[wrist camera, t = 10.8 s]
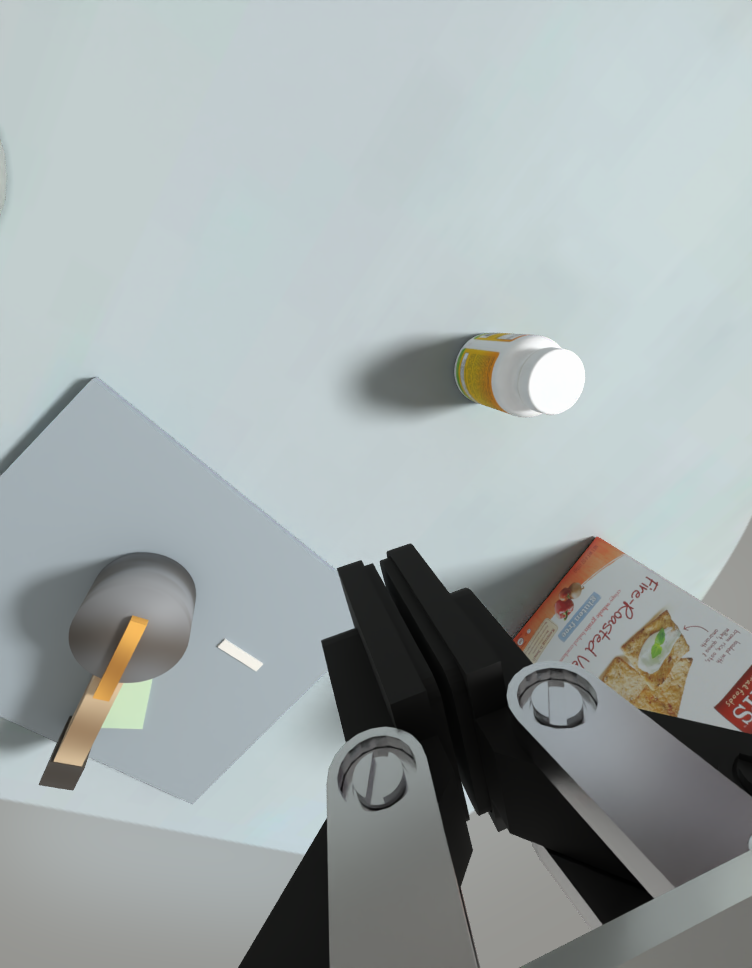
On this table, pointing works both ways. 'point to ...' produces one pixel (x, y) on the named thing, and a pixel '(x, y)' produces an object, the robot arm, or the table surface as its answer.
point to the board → (192, 543)
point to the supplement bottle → (519, 374)
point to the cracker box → (645, 640)
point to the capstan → (121, 646)
